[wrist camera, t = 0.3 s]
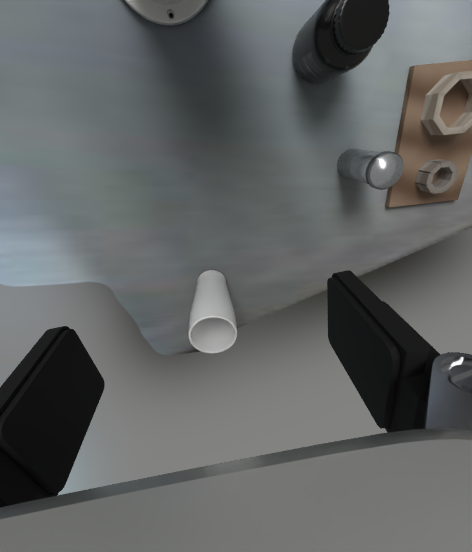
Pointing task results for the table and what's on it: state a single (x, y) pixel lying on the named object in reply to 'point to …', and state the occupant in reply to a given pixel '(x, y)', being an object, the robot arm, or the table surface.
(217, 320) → the drinking glass
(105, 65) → the table surface
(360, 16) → the supplement bottle
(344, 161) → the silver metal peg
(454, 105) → the fitting board
